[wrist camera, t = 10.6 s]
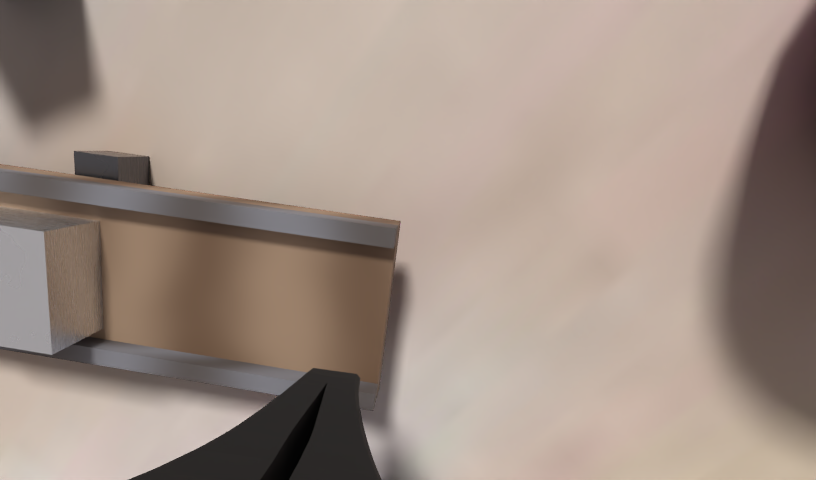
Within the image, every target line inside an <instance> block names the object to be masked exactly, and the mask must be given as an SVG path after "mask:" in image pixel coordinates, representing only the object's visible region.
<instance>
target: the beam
mask: <svg viewBox="0 0 816 480" xmlns="http://www.w3.org/2000/svg"><path fill="white" fill-rule="evenodd" d="M0 206H2V207H9V208H16V209H23V210H29V211H36V212H43V213H50V214H56V215H63V216H70V217H77V218H83V219H90V220H97V221H100V244H101V272H102V300H103V329H101V330H99V331H97V332H95V333H94V334H92V335H90V336H88V337H86V338H84V339H82V340H80V341H78V342H76V343H74V344H72V345H70V346H68V347H66V348H64V349H62V350H61V351H59V352H57V353H55V354H53V355H50V354H44V353H38V352H32V351H26V350H20V349H14V348H8V347H2V346H0V349H4V350H10V351H16V352H22V353H28V354H34V355H40V356H46V357H52V358H58V359H64V360H70V361H76V362H82V363H88V364H94V365H100V366H106V367H112V368H118V369H124V370H130V371H136V372H142V373H148V374H154V375H160V376H166V377H172V378H178V379H184V380H190V381H196V382H202V383H208V384H214V385H220V386H226V387H232V388H238V389H244V390H250V391H256V392H262V393H268V394H274V395H280V394H282V393H283V392H284V391H285V390H287V389H288V388H289V387H290V386H291V385H293V384H294V383H295V382H296V381H297V380H299V379H300V378H301V377H302V376H303V375H305V374H306V373H307V372H308V371H310V370H311V369H312V368H318V369H325V370H332V371H340V372H347V373H354V374H357V375H358V376H359V377H360V386H359V405H360V409H364V410H370V411H373V409H374V405H375V402H376V398H377V394H378V390H379V385H380V378H381V370H382V362H383V354H384V346H385V339H386V331H387V323H388V315H389V307H390V300H391V292H392V284H393V276H394V268H395V260H396V253H397V245H398V237H399V229H400V221H396V220H389V219H382V218H375V217H368V216H361V215H354V214H347V213H340V212H333V211H326V210H319V209H312V208H305V207H298V206H291V205H284V204H277V203H269V202H262V201H255V200H248V199H241V198H234V197H227V196H220V195H213V194H206V193H199V192H192V191H185V190H178V189H171V188H164V187H157V186H150V185H143V184H136V183H129V182H122V181H115V180H108V179H101V178H94V177H87V176H80V175H73V174H66V173H59V172H52V171H45V170H38V169H31V168H24V167H17V166H10V165H3V164H0Z"/></svg>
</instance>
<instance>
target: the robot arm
mask: <svg viewBox="0 0 816 480" xmlns="http://www.w3.org/2000/svg"><path fill="white" fill-rule="evenodd" d="M359 386H360V377H359V376H358V375H357V374H354V373H347V372H340V371H332V370H325V369H318V368H312V369H311V370H310V371H308V372H307V373H306V374H305V375H303V376H302V377H301V378H300V379H299V380H297V381H296V382H295V383H294V384H293V385H291V386H290V387H289V388H288V389H287V390H285V391H284V392H283V393H282V394H280V395H279V396H278V397H276V398H275V399H274V400H273V401H271V402H270V403H269V404H267V405H266V406H265V407H263V408H262V409H261V410H259V411H258V412H256V413H255V414H254V415H252V416H251V417H249V418H248V419H246V420H245V421H243V422H242V423H241V424H239V425H238V426H236V427H234V428H233V429H231V430H230V431H228V432H226V433H225V434H223V435H221V436H219V437H218V438H216V439H214V440H212V441H210V442H209V443H207V444H205V445H203V446H201V447H199V448H198V449H196V450H194V451H191V452H189V453H187V454H185V455H183V456H181V457H179V458H177V459H175V460H173V461H170V462H168V463H166V464H164V465H162V466H160V467H158V468H155V469H153V470H151V471H148V472H146V473H144V474H141V475H139V476H136V477H134V478H131V479H129V480H381V478H380V475H379V473H378V471H377V468H376V465H375V463H374V460H373V457H372V455H371V452H370V449H369V445H368V442H367V438H366V435H365V431H364V427H363V422H362V417H361V412H360V405H359Z"/></svg>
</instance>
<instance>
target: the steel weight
mask: <svg viewBox="0 0 816 480" xmlns="http://www.w3.org/2000/svg"><path fill="white" fill-rule="evenodd" d="M101 329H103V300H102V272H101V244H100V221H97V220H90V219H83V218H77V217H70V216H63V215H56V214H50V213H43V212H36V211H29V210H23V209H16V208H9V207H2V206H0V346H2V347H8V348H14V349H20V350H26V351H32V352H38V353H44V354H50V355H53V354H55V353H57V352H59V351H61V350H62V349H64V348H66V347H68V346H70V345H72V344H74V343H76V342H78V341H80V340H82V339H84V338H86V337H88V336H90V335H92V334H94V333H95V332H97V331H99V330H101Z"/></svg>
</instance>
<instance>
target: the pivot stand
mask: <svg viewBox="0 0 816 480" xmlns="http://www.w3.org/2000/svg"><path fill="white" fill-rule="evenodd" d="M74 163H75V175H80V176H87V177H94V178H101V179H108V180H115V181H122V182H129V183H136V184H143V185H149V156H141V155H134V154H126V153H119V152H111V151H74Z"/></svg>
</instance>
